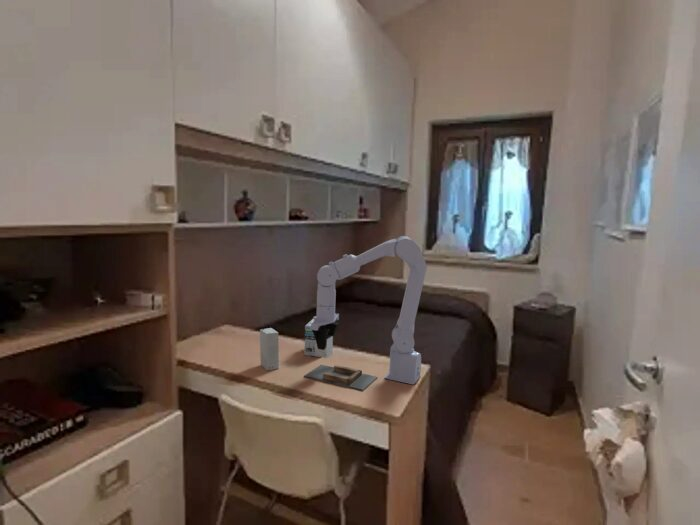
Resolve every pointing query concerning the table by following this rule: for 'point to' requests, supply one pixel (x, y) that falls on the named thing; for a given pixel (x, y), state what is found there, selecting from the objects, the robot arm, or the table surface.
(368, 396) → the table surface
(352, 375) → the dock
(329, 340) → the aluminium block
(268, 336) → the skincare box
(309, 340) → the light bulb box
